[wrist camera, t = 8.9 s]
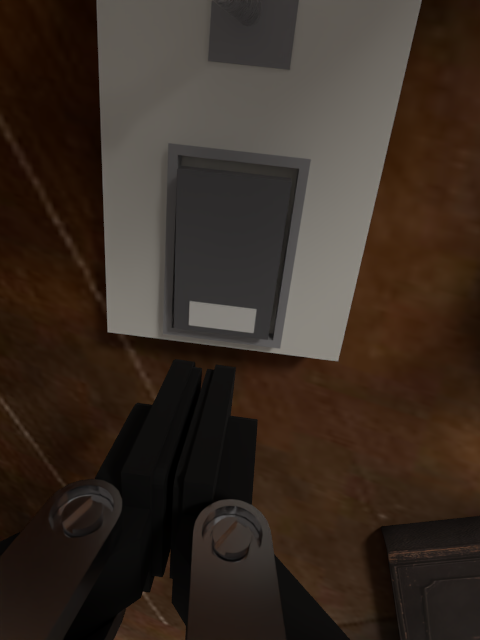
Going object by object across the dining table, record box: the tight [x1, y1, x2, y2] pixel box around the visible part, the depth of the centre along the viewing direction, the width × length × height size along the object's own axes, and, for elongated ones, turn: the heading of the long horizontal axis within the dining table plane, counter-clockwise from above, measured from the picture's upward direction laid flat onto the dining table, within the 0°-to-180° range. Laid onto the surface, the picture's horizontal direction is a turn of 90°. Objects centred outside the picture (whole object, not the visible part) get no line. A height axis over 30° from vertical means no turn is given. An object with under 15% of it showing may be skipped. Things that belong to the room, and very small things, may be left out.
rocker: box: [174, 166, 292, 340], centre depth 17 cm, size 7×4×1 cm, turn 174°
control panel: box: [96, 0, 422, 361], centre depth 16 cm, size 28×12×4 cm, turn 174°
